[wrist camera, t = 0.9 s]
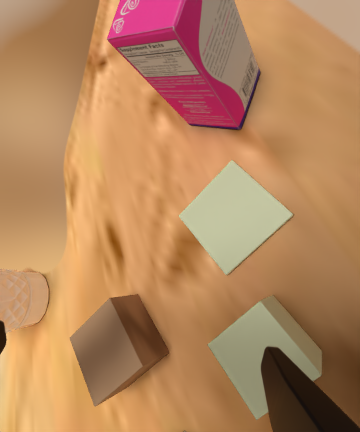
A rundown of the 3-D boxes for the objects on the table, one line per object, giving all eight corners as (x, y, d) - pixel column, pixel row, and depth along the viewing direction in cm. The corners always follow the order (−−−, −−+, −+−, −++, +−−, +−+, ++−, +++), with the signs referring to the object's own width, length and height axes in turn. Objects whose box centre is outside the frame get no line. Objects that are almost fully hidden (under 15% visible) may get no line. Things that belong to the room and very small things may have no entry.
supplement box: (205, 73, 26) (132, -48, 16) (262, 71, 22) (214, -81, 13) (187, 126, 25) (102, 37, 16) (241, 132, 22) (177, 25, 13)
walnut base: (170, 351, 22) (142, 366, 19) (127, 387, 23) (94, 406, 20) (138, 294, 25) (109, 298, 21) (102, 329, 26) (69, 338, 23)
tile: (293, 215, 19) (293, 214, 19) (227, 275, 21) (226, 275, 20) (233, 161, 22) (231, 159, 22) (180, 216, 24) (178, 215, 23)
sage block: (322, 350, 17) (321, 375, 13) (271, 387, 18) (256, 420, 14) (272, 294, 19) (259, 300, 15) (229, 330, 20) (207, 344, 16)
